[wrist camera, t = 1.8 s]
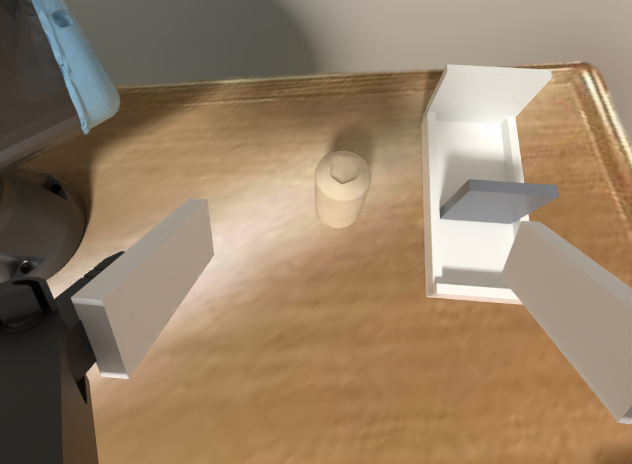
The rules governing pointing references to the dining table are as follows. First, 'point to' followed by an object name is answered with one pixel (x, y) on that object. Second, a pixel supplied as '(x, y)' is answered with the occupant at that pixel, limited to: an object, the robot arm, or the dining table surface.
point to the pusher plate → (496, 201)
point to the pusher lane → (472, 175)
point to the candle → (341, 188)
